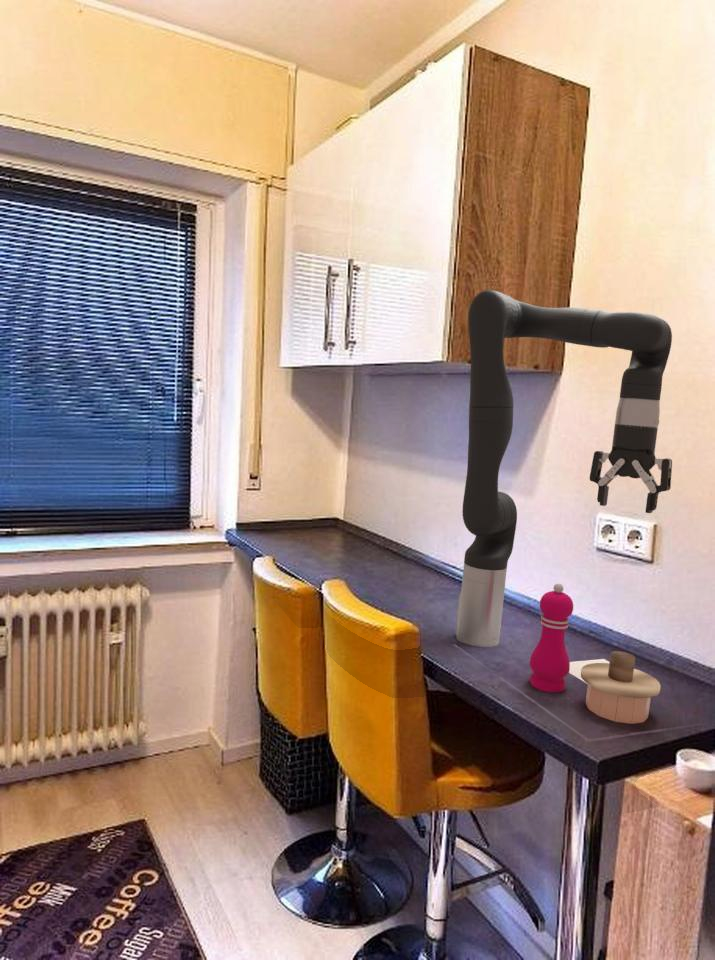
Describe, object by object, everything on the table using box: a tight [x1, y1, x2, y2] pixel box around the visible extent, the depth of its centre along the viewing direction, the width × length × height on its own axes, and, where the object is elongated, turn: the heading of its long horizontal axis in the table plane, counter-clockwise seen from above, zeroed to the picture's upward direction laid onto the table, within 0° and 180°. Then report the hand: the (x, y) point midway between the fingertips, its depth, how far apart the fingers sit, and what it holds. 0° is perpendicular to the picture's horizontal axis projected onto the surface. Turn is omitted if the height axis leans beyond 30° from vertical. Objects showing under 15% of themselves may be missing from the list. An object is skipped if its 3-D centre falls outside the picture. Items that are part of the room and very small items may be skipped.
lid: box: [581, 650, 662, 698], centre depth 119 cm, size 13×13×5 cm
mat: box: [568, 658, 610, 685], centre depth 136 cm, size 13×13×1 cm
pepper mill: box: [529, 583, 574, 693], centre depth 127 cm, size 7×7×20 cm
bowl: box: [585, 684, 652, 725], centre depth 120 cm, size 10×10×6 cm
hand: (625, 509), depth 130 cm, fingers open, 8 cm apart
